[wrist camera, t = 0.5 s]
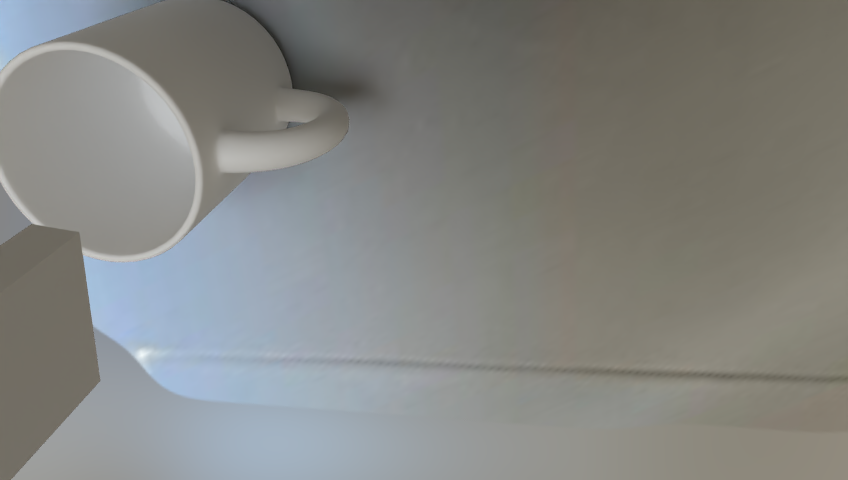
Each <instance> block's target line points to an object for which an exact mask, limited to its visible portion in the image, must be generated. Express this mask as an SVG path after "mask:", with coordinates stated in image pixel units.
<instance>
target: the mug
mask: <svg viewBox="0 0 848 480" xmlns="http://www.w3.org/2000/svg"><path fill="white" fill-rule="evenodd" d="M289 122H301V123H305V124H302V125H299V126H295V127H291V128H287V126H288V123H289ZM348 127H349V116H348V113H347V110H346V109H345V107H344V106H343V105H342V104H341V103H340V102H339V101H337V100H335V99H334V98H332V97H330V96H327V95H325V94H321V93H317V92H313V91H307V90H300V89H292V81H291V77H290V73H289V70H288V67H287V64H286V62H285V59H284V57H283V55H282V53H281V51H280V49H279V47H278V46H277V44H276V42H275V41H274V39H273V38H272V37H271V35H270V34H269V33H268V32H267V31H266V29H265V28H264V27H263V26H262V25H261V24H260V23H259V22H257V21H256V20H255V19H254V18H253V17H251V16H250V15H249V14H247V13H246V12H245V11H243V10H241V9H239V8H238V7H236V6H234V5H232V4H229V3H227V2H225V1H222V0H165V1H162V2H159V3H156V4H153V5H150V6H147V7H144V8H141V9H138V10H136V11H133V12H130V13H127V14H124V15H122V16H119V17H116V18H113V19H110V20H107V21H105V22H102V23H99V24H96V25H93V26H90V27H88V28H85V29H82V30H79V31H76V32H73V33H71V34H68V35H65V36H62V37H59V38H57V39H54V40H51V41H48V42H45V43H42V44H40V45H37V46H34V47H31V48H29V49H27V50H25V51H24V52H22V53H20V54H18V55H17V56H16V57H15V58H13V59H12V60H11V61H9V63H8V64H7V65H6V66H5V67H4V68H3V69H2V70H1V72H0V182H1V184H2V185H3V187H4V189H5V191H6V192H7V194H8V195H9V197H10V198H11V200H12V201H13V202H14V204H15V205H16V206H17V207H18V208H19V210H20V211H21V212H22V213H23V214H24V215H25V216H26V217H27V218H28V219H29V220H30V221H31V222H32V223H33V224H35V225H41V226H47V227H53V228H58V229H64V230H70V231H76V232H80V239H81V247H82V254H83V255H85V256H88V257H92V258H95V259H99V260H105V261H110V262H134V261H140V260H145V259H149V258H152V257H155V256H157V255H160V254H162V253H164V252H166V251H167V250H169V249H171V248H172V247H173V246H175V245H176V244H177V243H178V242H180V241H181V240H182V239H183V238H184V237H185V236H186V235H187V234H188V233H189V232H190V231H191V230H192V229H193V228H194V227H195V226H196V225H197V224H198V223H199V222H200V221H201V220H202V219H203V218H205V217H206V216H207V215H208V214H209V213H210V212H211V211H212V210H213V209H214V208H215V207H216V206H217V205H218V204H219V203H220V202H221V201H222V200H223V199H224V198H225V197H226V196H227V195H228V194H229V193H230V192H231V191H233V190H234V189H235V188H236V187H237V186H238V185H239V184H240V183H241V182H242V181H243V180H244V179H245V178H246V177H247V176H248V175H249V174H250V173H251V172H262V171H270V170H276V169H282V168H286V167H291V166H295V165H298V164H301V163H305V162H307V161H310V160H312V159H315V158H317V157H319V156H321V155H323V154H325V153H327V152H328V151H330V150H331V149H333V148H334V147H336V146H337V145H338V144H339V143H340V142H341V141H342V140H343V138H344V136H345V135H346V133H347V131H348ZM286 128H287V129H286Z"/></svg>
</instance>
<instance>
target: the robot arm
mask: <svg viewBox="0 0 848 480" xmlns="http://www.w3.org/2000/svg"><path fill="white" fill-rule="evenodd" d="M99 382H100V375H99V368H98V361H97V354H96V347H95V339H94V332H93V325H92V318H91V311H90V304H89V297H88V289H87V282H86V275H85V268H84V261H83V254H82V247H81V239H80V232H76V231H70V230H64V229H58V228H53V227H47V226H41V225H35V224H31V225H30V226H28V227H27V228H25V229H24V230H22V231H21V232H19V233H18V234H16V235H15V236H13V237H12V238H11V239H9V240H8V241H6V242H5V243H3V244H2V245H0V480H11V479H12V478H13V477H14V476H15V475H16V473H17V472H18V471H19V470H20V469H21V468H22V467H23V466H24V465H25V464H26V462H27V461H28V460H29V459H30V458H31V457H32V456H33V455H34V454H35V453H36V451H37V450H38V449H39V448H40V447H41V446H42V445H43V444H44V443H45V441H46V440H47V439H48V438H49V437H50V436H51V435H52V434H53V433H54V431H55V430H56V429H57V428H58V427H59V426H60V425H61V424H62V422H63V421H64V420H65V419H66V418H67V417H68V416H69V415H70V414H71V413H72V412H73V410H74V409H75V408H76V407H77V406H78V405H79V404H80V403H81V402H82V401H83V399H84V398H85V397H86V396H87V395H88V394H89V393H90V392H91V391H92V389H93V388H94V387H95V386H96V385H97V384H98V383H99Z"/></svg>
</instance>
